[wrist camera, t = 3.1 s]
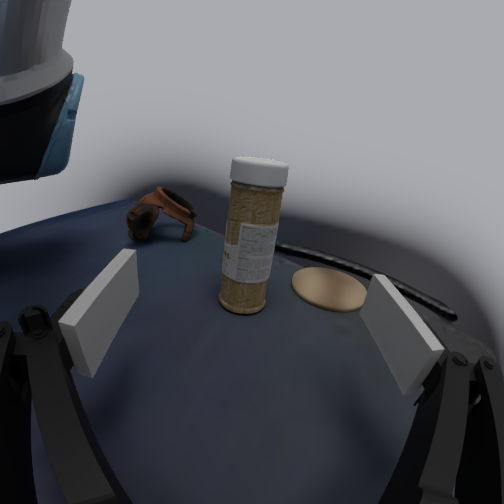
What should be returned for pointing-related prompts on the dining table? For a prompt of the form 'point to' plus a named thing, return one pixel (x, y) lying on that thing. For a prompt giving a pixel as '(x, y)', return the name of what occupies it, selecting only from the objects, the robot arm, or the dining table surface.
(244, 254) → the sprinkles bottle
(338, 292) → the cork coaster
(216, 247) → the dining table surface
